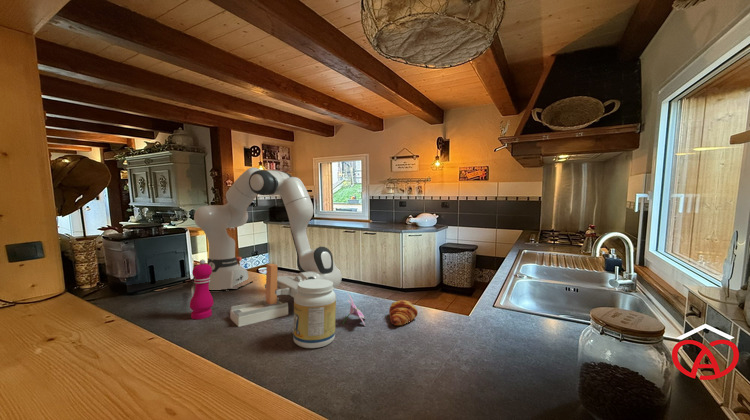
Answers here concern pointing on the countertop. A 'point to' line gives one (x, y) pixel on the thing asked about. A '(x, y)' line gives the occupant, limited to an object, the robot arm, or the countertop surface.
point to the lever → (271, 285)
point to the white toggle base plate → (256, 312)
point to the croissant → (402, 312)
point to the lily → (354, 310)
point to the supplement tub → (314, 313)
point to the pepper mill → (201, 292)
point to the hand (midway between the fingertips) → (270, 289)
